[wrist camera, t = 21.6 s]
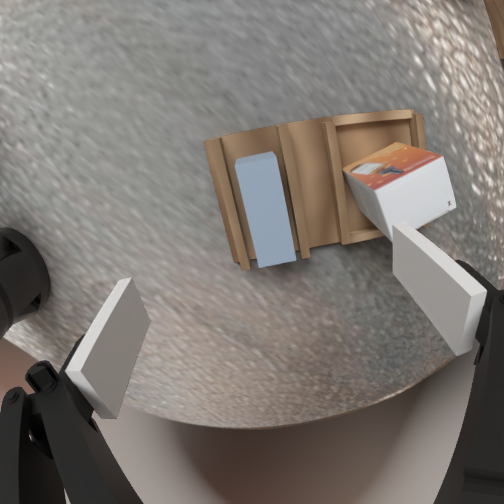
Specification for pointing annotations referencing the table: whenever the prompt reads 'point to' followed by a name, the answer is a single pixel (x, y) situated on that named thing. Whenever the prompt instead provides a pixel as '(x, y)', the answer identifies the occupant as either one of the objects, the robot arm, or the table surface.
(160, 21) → the table surface
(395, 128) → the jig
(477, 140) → the table surface
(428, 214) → the small box
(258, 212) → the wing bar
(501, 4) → the open wooden box
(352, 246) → the table surface
